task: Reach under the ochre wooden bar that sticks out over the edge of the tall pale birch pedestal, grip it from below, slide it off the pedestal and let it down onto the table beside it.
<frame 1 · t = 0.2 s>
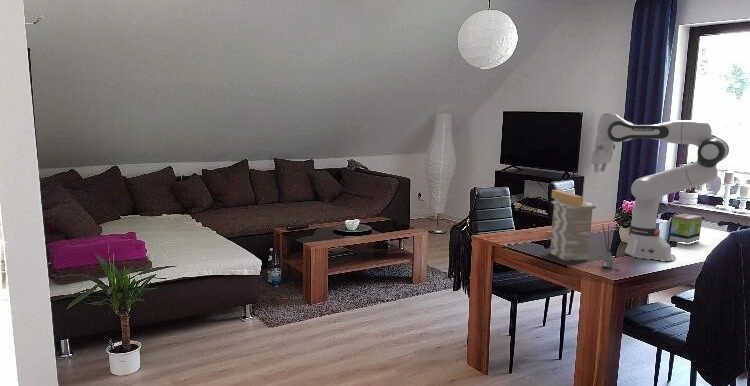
hand: (599, 171, 285), 39 cm above the table, tool pointing down, fingers open, 8 cm apart
reed diffuser: (609, 268, 252), on the table
tin: (643, 238, 313), on the table
ochre bar: (566, 201, 271), point 26 cm above the table, touching birch pedestal
tea box: (684, 242, 307), on the table
birch pedestal: (568, 256, 270), on the table
supplement box: (575, 233, 322), on the table
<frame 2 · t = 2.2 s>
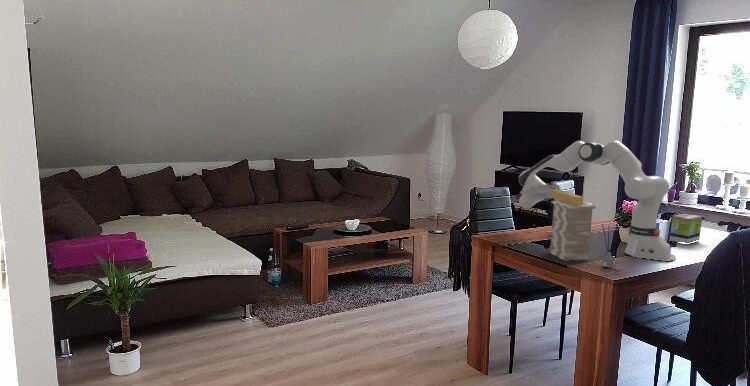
hand: (547, 184, 297), 31 cm above the table, tool pointing upward, fingers open, 8 cm apart
nothing on the table moved.
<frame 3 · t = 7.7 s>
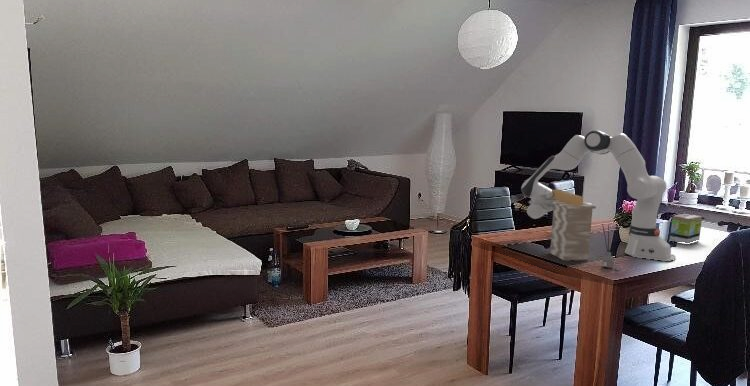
hand: (558, 193, 279), 28 cm above the table, tool pointing upward, fingers closed on ochre bar, 4 cm apart
ochre bar: (566, 201, 271), point 26 cm above the table, touching birch pedestal, gripper
everything else where it was.
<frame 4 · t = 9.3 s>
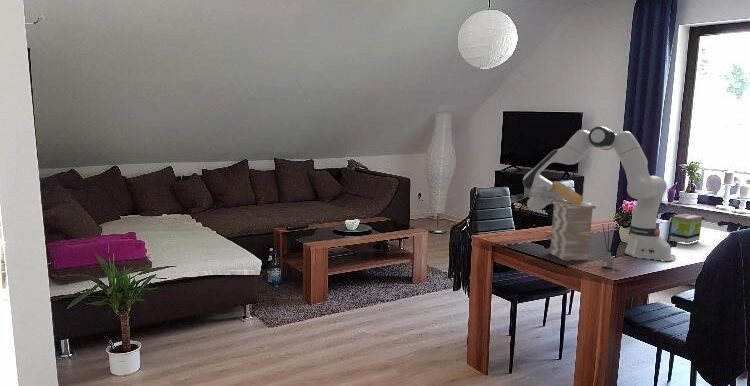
hand: (558, 185, 279), 32 cm above the table, tool pointing upward, fingers closed on ochre bar, 4 cm apart
ochre bar: (565, 196, 272), point 28 cm above the table, tilted 11°, touching gripper
everything else where it was.
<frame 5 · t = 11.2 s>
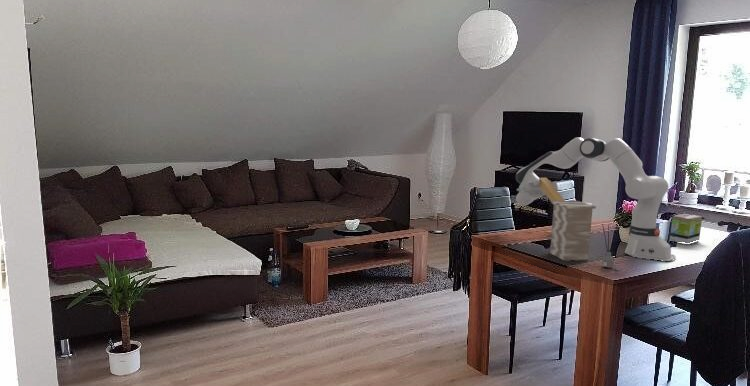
hand: (544, 181, 292), 33 cm above the table, tool pointing upward, fingers closed on ochre bar, 4 cm apart
ochre bar: (550, 195, 287), point 26 cm above the table, tilted 25°, touching gripper
everything else where it was.
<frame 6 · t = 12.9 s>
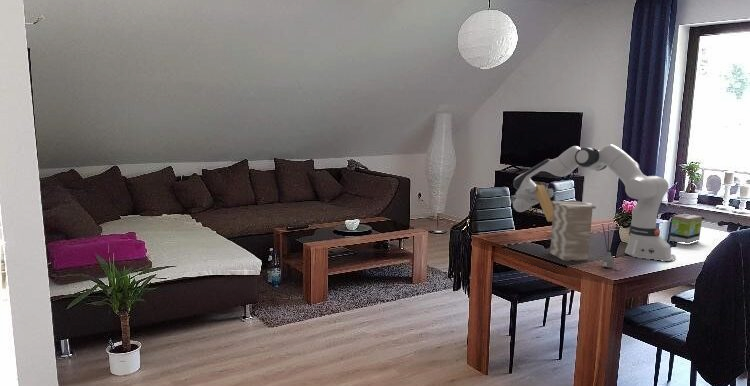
hand: (540, 188, 297), 29 cm above the table, tool pointing upward, fingers closed on ochre bar, 4 cm apart
ochre bar: (544, 205, 293), point 20 cm above the table, tilted 39°, touching gripper
everything else where it was.
when the fingers open (19 cm above the table, at t = 14.6 s): ochre bar drops 11 cm, on the table.
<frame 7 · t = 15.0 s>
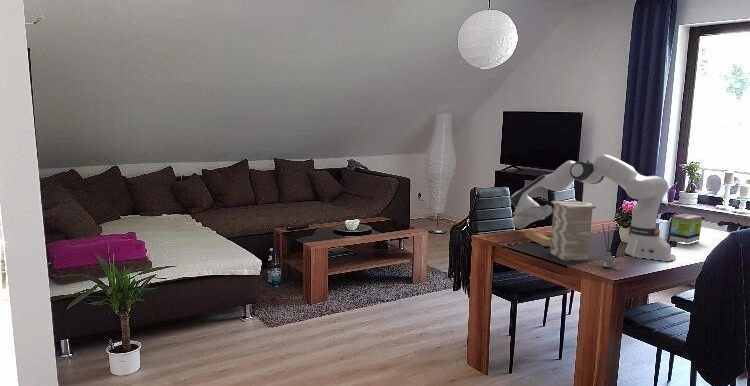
hand: (539, 206, 298), 19 cm above the table, tool pointing upward, fingers open, 8 cm apart
ochre bar: (537, 241, 300), on the table
everything else where it was.
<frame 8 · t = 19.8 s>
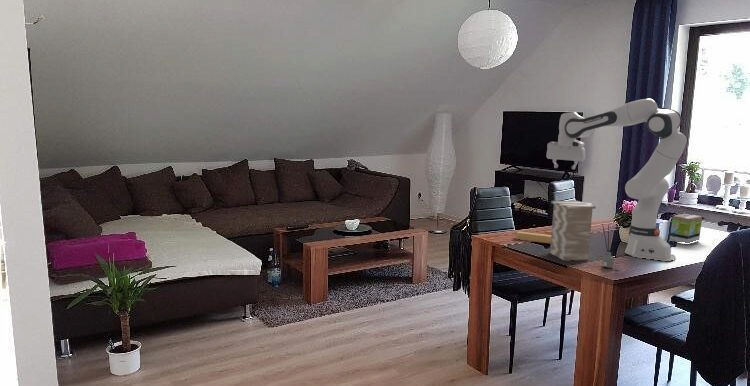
hand: (564, 168, 299), 39 cm above the table, tool pointing down, fingers open, 8 cm apart
at the end: ochre bar inside the target area (7.3 cm from its centre), on the table; ochre bar touching table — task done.
